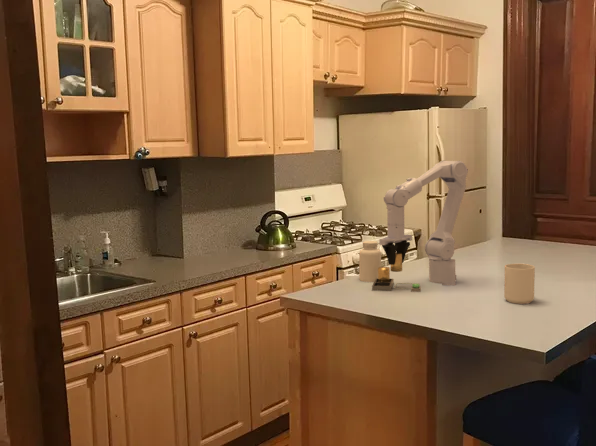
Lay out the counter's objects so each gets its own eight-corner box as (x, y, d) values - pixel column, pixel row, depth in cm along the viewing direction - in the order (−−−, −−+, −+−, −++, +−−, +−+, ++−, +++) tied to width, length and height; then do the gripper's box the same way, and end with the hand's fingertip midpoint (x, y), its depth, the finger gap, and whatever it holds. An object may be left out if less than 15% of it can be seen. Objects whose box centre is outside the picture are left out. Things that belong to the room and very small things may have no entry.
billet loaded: (390, 283, 226) (390, 266, 225) (389, 285, 222) (389, 269, 222) (378, 283, 227) (378, 266, 226) (377, 285, 223) (377, 268, 222)
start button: (419, 291, 215) (419, 283, 215) (419, 293, 213) (419, 285, 213) (412, 291, 216) (412, 283, 215) (412, 293, 213) (412, 285, 213)
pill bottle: (380, 284, 229) (380, 243, 227) (358, 284, 231) (357, 243, 229) (382, 279, 237) (381, 240, 235) (360, 279, 239) (359, 240, 237)
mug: (534, 305, 195) (534, 269, 194) (503, 303, 198) (504, 268, 197) (534, 296, 206) (534, 262, 205) (505, 294, 209) (505, 261, 208)
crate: (394, 285, 227) (394, 278, 227) (391, 293, 215) (391, 286, 215) (375, 285, 229) (375, 278, 228) (371, 293, 217) (371, 285, 216)
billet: (403, 269, 220) (403, 252, 219) (400, 272, 217) (400, 254, 216) (392, 269, 222) (392, 252, 221) (389, 271, 218) (388, 254, 218)
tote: (418, 286, 224) (418, 283, 224) (417, 292, 216) (417, 288, 216) (395, 286, 226) (395, 283, 226) (394, 291, 218) (394, 288, 218)
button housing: (420, 292, 216) (420, 286, 215) (420, 294, 213) (420, 288, 212) (411, 292, 216) (411, 286, 216) (411, 294, 213) (411, 288, 213)
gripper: (390, 227, 210) (390, 267, 211) (418, 223, 219) (418, 262, 220) (374, 225, 215) (375, 265, 217) (403, 221, 224) (403, 259, 226)
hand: (396, 263), depth 219 cm, fingers closed on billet, 4 cm apart
